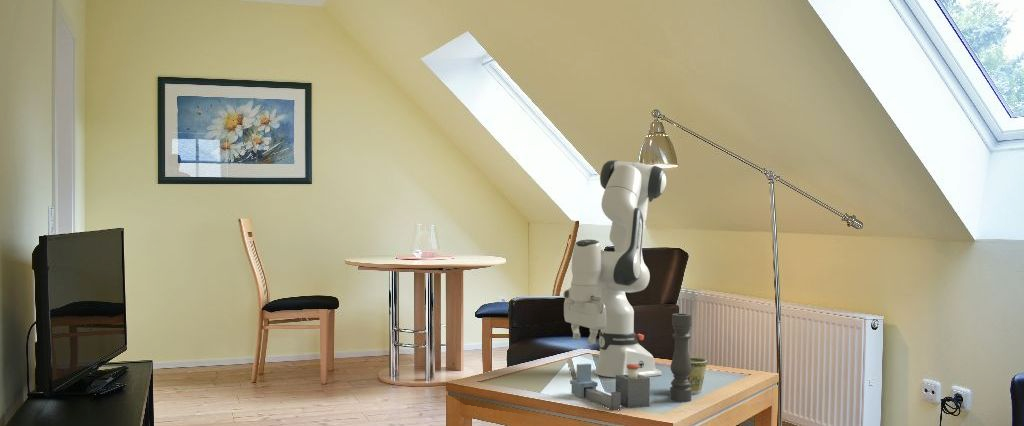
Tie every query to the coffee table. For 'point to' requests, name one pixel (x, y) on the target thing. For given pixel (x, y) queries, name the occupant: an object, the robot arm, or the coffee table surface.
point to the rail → (602, 397)
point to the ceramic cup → (697, 374)
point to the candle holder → (681, 358)
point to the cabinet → (633, 390)
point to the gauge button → (632, 370)
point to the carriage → (582, 380)
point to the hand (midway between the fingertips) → (584, 341)
